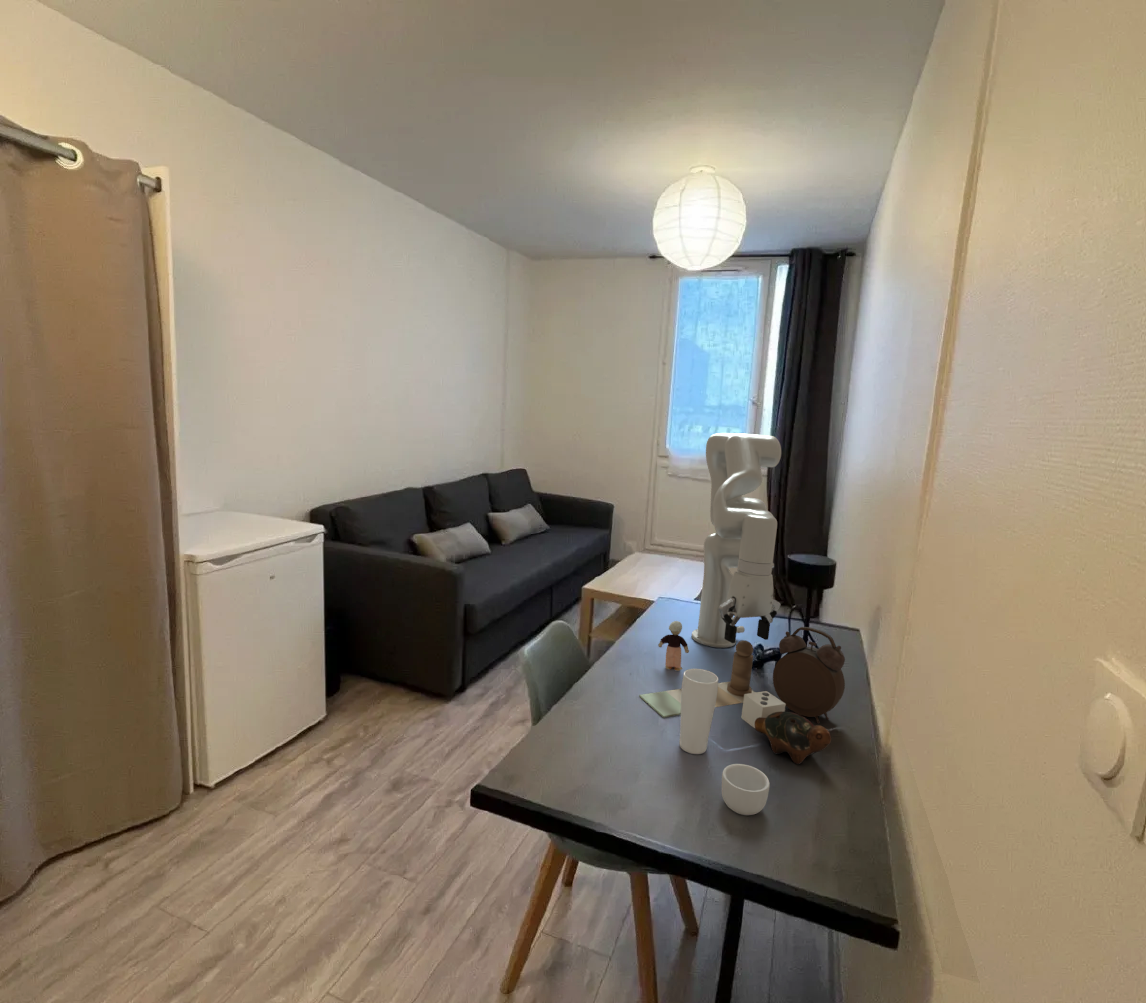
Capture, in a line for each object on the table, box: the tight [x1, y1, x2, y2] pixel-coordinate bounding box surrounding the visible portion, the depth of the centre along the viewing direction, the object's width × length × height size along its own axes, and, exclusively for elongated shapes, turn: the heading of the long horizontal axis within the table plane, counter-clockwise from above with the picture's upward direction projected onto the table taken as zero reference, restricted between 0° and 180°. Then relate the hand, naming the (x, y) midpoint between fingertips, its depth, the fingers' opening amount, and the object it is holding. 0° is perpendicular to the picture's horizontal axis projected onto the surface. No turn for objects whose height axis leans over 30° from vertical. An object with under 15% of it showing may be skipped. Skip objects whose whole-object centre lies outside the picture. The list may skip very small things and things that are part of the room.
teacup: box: [721, 763, 771, 816], centre depth 105 cm, size 10×8×5 cm
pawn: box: [727, 639, 754, 697], centre depth 146 cm, size 6×6×12 cm
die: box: [741, 690, 786, 729], centre depth 132 cm, size 6×6×6 cm
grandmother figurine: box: [657, 620, 690, 672], centre depth 157 cm, size 8×4×13 cm, turn 84°
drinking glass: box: [678, 668, 719, 755], centre depth 120 cm, size 7×7×15 cm
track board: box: [638, 680, 756, 719], centre depth 143 cm, size 28×10×1 cm, turn 115°
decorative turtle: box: [754, 711, 832, 765], centre depth 122 cm, size 10×15×8 cm, turn 50°
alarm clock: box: [772, 626, 846, 724], centre depth 138 cm, size 15×7×20 cm, turn 47°
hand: (746, 639), depth 145 cm, fingers open, 9 cm apart
